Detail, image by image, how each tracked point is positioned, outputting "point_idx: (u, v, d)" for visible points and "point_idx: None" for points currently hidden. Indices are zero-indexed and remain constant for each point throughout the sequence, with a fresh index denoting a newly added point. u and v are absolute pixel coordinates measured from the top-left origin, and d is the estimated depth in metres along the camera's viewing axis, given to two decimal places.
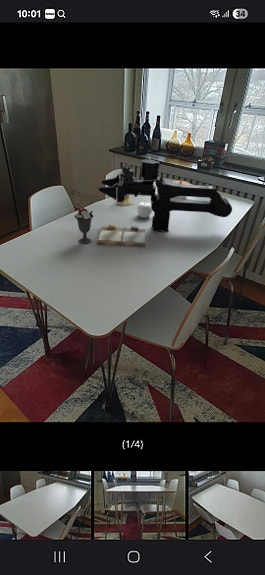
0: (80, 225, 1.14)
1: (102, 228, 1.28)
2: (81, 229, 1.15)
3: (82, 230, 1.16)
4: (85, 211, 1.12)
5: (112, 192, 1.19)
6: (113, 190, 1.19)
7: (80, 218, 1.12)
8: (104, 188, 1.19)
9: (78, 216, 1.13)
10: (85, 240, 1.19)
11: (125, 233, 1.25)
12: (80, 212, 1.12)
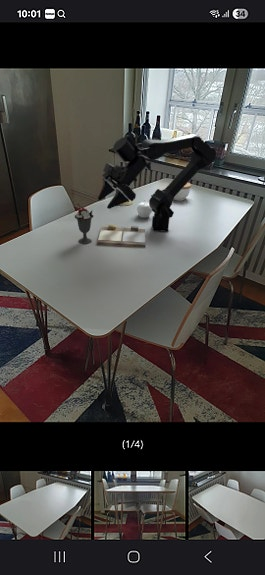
0: (80, 225, 1.14)
1: (102, 228, 1.28)
2: (81, 229, 1.15)
3: (82, 230, 1.16)
4: (85, 211, 1.12)
5: (120, 198, 1.11)
6: (119, 196, 1.10)
7: (80, 218, 1.12)
8: (111, 202, 1.11)
9: (78, 216, 1.13)
10: (85, 240, 1.19)
11: (125, 233, 1.25)
12: (80, 212, 1.12)
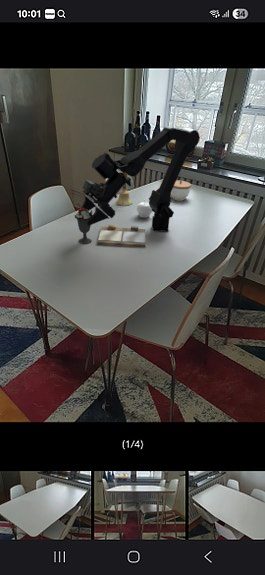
0: (80, 225, 1.14)
1: (102, 228, 1.28)
2: (81, 229, 1.15)
3: (82, 230, 1.16)
4: (85, 211, 1.12)
5: (99, 215, 1.11)
6: (99, 213, 1.10)
7: (80, 218, 1.12)
8: (91, 219, 1.11)
9: (78, 216, 1.13)
10: (85, 240, 1.19)
11: (125, 233, 1.25)
12: (80, 212, 1.12)
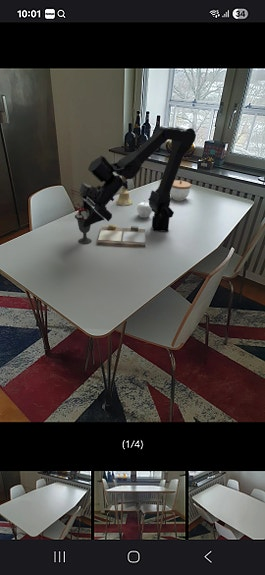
0: (80, 225, 1.14)
1: (102, 228, 1.28)
2: (81, 229, 1.15)
3: (82, 230, 1.16)
4: (85, 211, 1.12)
5: (95, 217, 1.12)
6: (94, 215, 1.11)
7: (80, 218, 1.12)
8: (87, 221, 1.12)
9: (78, 216, 1.13)
10: (85, 240, 1.19)
11: (125, 233, 1.25)
12: (80, 212, 1.12)
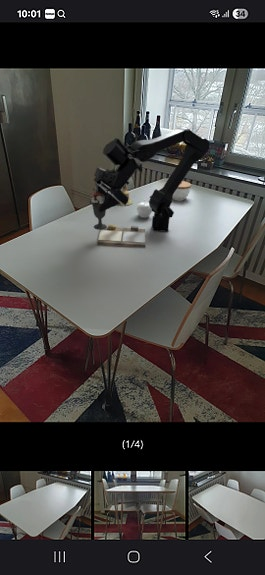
0: (95, 210, 1.13)
1: None
2: (96, 214, 1.14)
3: (97, 215, 1.15)
4: (100, 196, 1.11)
5: (111, 201, 1.11)
6: (110, 199, 1.10)
7: (96, 203, 1.11)
8: (103, 206, 1.11)
9: (93, 201, 1.11)
10: (101, 225, 1.18)
11: (125, 233, 1.25)
12: (95, 197, 1.11)
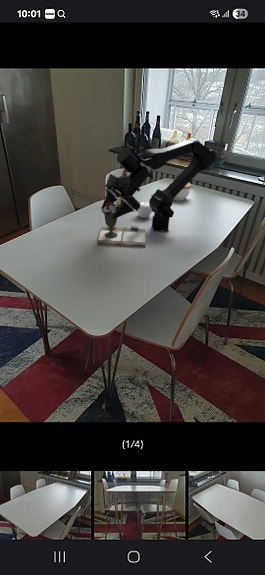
0: (107, 219, 1.17)
1: (102, 228, 1.28)
2: (108, 223, 1.18)
3: (109, 224, 1.18)
4: (113, 205, 1.15)
5: (124, 208, 1.13)
6: (124, 206, 1.12)
7: (108, 212, 1.15)
8: (116, 213, 1.12)
9: (106, 210, 1.15)
10: (111, 234, 1.21)
11: (125, 233, 1.25)
12: (108, 206, 1.15)
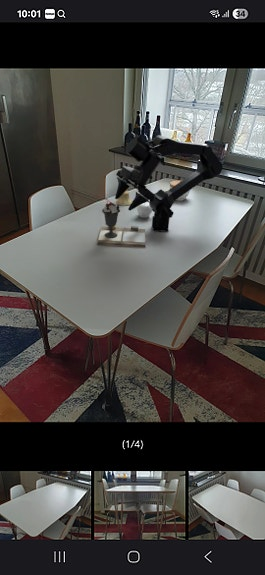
0: (107, 219, 1.17)
1: (102, 228, 1.28)
2: (108, 223, 1.18)
3: (109, 224, 1.18)
4: (113, 205, 1.15)
5: (140, 200, 1.16)
6: (139, 198, 1.15)
7: (108, 212, 1.15)
8: (132, 205, 1.16)
9: (106, 210, 1.15)
10: (111, 234, 1.21)
11: (125, 233, 1.25)
12: (108, 206, 1.15)
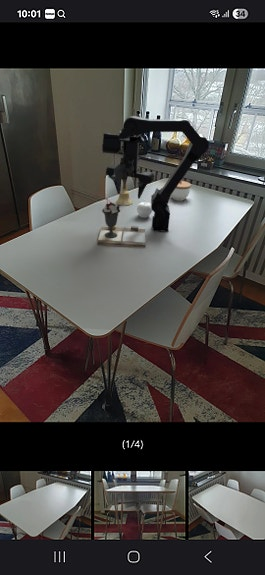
0: (108, 219, 1.17)
1: (102, 228, 1.28)
2: (108, 223, 1.18)
3: (109, 224, 1.18)
4: (113, 205, 1.15)
5: (143, 185, 1.21)
6: None
7: (108, 212, 1.15)
8: (140, 193, 1.22)
9: (106, 210, 1.15)
10: (111, 234, 1.21)
11: (125, 233, 1.25)
12: (108, 206, 1.15)
